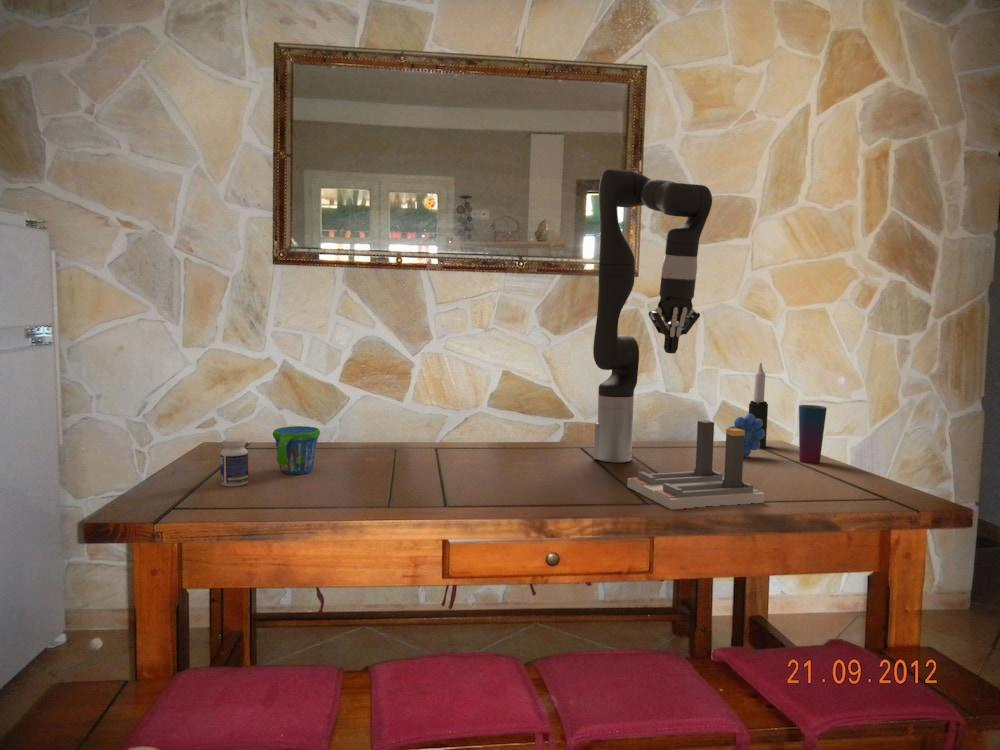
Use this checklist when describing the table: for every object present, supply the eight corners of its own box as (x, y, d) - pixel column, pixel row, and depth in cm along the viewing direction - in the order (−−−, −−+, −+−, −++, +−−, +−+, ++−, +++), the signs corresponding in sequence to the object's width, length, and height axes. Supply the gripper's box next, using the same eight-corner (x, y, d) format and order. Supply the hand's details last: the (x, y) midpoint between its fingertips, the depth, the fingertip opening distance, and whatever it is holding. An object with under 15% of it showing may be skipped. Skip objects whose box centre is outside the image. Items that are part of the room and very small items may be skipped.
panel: (670, 509, 145) (673, 435, 144) (627, 486, 163) (629, 421, 162) (764, 502, 151) (767, 432, 150) (712, 481, 170) (714, 418, 168)
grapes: (754, 453, 205) (756, 411, 204) (768, 458, 198) (770, 414, 197) (717, 454, 202) (719, 411, 201) (729, 459, 196) (731, 415, 195)
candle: (766, 445, 217) (770, 362, 215) (764, 448, 212) (769, 363, 210) (748, 444, 219) (752, 361, 217) (746, 446, 215) (750, 362, 212)
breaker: (730, 490, 152) (733, 431, 151) (722, 487, 155) (725, 428, 153) (743, 490, 153) (745, 430, 151) (734, 486, 155) (737, 428, 154)
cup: (826, 465, 190) (829, 408, 189) (798, 463, 192) (801, 407, 190) (820, 460, 197) (823, 405, 196) (793, 458, 198) (796, 404, 197)
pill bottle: (253, 482, 161) (253, 438, 160) (236, 488, 156) (236, 442, 155) (232, 479, 163) (232, 436, 162) (215, 485, 158) (214, 440, 157)
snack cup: (299, 481, 163) (298, 436, 162) (258, 477, 166) (257, 433, 165) (332, 466, 178) (332, 426, 177) (295, 463, 181) (294, 423, 180)
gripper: (692, 275, 167) (683, 349, 170) (644, 274, 162) (636, 350, 165) (713, 278, 160) (704, 355, 164) (664, 277, 155) (655, 356, 158)
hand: (670, 352), depth 164 cm, fingers closed
